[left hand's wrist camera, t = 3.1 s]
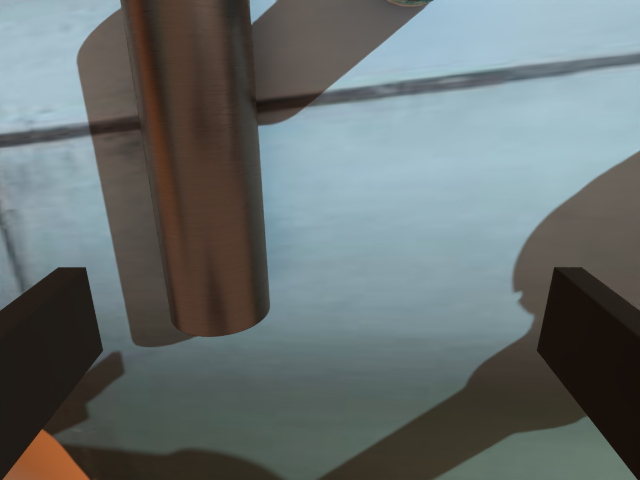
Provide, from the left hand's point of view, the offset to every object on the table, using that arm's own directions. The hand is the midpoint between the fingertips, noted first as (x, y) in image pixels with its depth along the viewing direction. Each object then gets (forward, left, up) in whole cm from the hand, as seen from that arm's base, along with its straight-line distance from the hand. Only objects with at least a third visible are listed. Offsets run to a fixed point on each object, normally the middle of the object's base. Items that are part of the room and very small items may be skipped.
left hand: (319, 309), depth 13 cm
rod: (+2, -9, -27) cm, 28 cm away
